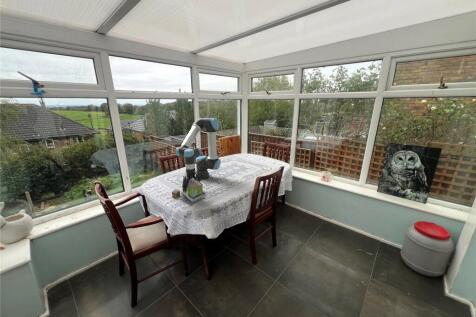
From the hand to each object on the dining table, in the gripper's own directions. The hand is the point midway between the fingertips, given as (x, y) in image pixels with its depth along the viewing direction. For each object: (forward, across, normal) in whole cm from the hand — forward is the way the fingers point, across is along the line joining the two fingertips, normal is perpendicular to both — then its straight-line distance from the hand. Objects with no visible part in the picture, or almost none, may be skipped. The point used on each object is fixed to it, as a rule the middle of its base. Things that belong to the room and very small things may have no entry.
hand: (192, 191), depth 159 cm
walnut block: (+7, +7, -15) cm, 18 cm away
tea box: (+4, 0, -2) cm, 5 cm away
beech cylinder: (+7, -11, -4) cm, 13 cm away
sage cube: (+7, +2, -11) cm, 13 cm away
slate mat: (+6, 0, 0) cm, 6 cm away
